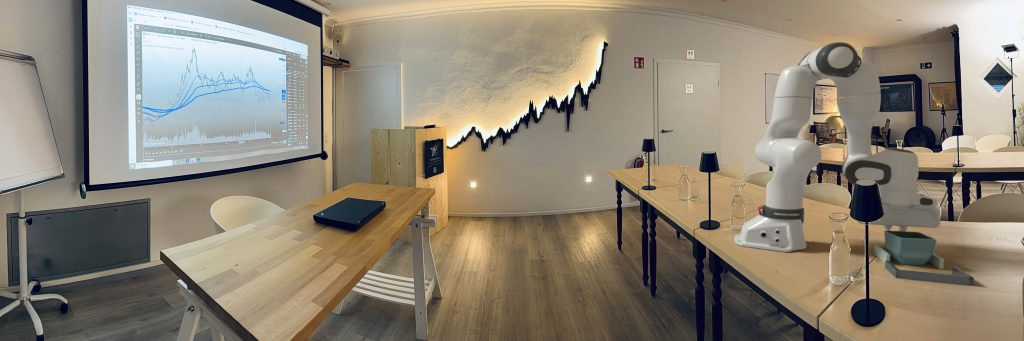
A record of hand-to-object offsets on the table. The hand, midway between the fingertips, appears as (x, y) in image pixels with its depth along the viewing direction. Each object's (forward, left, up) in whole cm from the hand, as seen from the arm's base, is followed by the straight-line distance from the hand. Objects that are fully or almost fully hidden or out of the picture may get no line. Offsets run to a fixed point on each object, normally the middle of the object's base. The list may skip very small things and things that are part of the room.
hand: (894, 238), depth 130 cm
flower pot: (0, -11, -5) cm, 12 cm away
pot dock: (0, -23, -5) cm, 23 cm away
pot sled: (0, -9, -4) cm, 10 cm away
